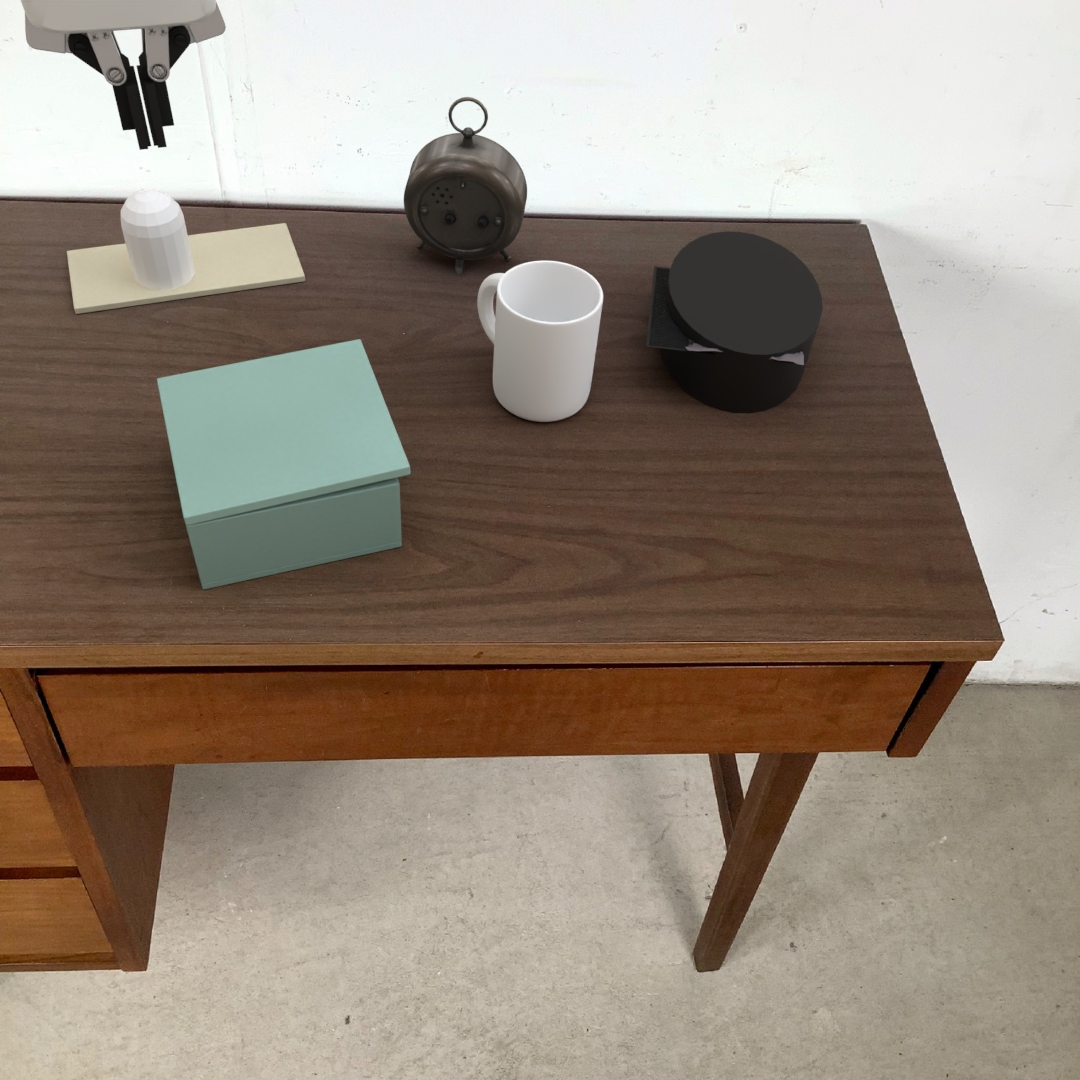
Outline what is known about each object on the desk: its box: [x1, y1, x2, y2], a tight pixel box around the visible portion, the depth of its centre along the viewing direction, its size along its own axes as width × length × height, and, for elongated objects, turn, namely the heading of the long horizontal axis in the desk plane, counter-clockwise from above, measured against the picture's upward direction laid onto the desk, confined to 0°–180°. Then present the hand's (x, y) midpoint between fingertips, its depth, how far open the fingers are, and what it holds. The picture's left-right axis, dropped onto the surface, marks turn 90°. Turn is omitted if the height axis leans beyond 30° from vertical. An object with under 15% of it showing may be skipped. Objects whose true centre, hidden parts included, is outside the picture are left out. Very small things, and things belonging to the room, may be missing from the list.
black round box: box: [645, 230, 823, 414], centre depth 94 cm, size 14×18×8 cm
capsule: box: [120, 188, 195, 291], centre depth 93 cm, size 5×5×8 cm
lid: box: [156, 338, 412, 526], centre depth 75 cm, size 15×14×1 cm
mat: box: [66, 222, 306, 315], centre depth 98 cm, size 20×9×1 cm, turn 110°
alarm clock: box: [403, 96, 528, 275], centre depth 96 cm, size 11×5×16 cm, turn 84°
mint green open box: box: [185, 477, 403, 590], centre depth 78 cm, size 14×14×7 cm
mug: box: [476, 260, 604, 423], centre depth 87 cm, size 12×8×10 cm
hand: (150, 136), depth 65 cm, fingers closed
